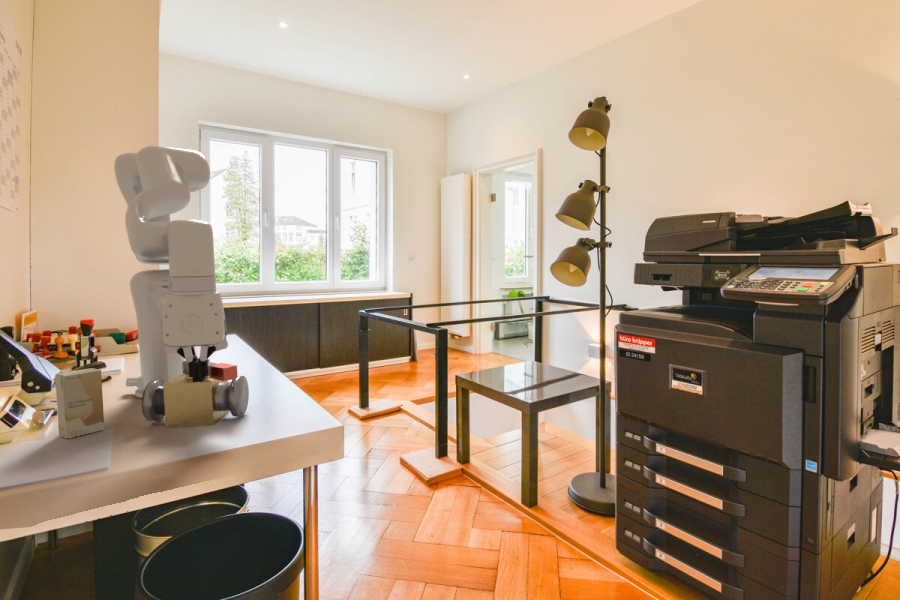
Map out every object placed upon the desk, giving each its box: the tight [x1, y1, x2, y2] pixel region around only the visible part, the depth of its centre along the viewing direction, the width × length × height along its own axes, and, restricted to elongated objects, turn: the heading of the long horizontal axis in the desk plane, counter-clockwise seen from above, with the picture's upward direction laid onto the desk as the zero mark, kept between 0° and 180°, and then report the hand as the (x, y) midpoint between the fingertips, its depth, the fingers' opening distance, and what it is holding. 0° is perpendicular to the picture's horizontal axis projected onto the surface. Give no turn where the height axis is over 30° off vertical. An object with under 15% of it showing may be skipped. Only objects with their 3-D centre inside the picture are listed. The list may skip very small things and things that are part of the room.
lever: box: [182, 358, 239, 381], centre depth 91 cm, size 15×5×2 cm, turn 57°
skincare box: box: [54, 367, 105, 439], centre depth 87 cm, size 6×4×12 cm
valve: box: [141, 374, 250, 429], centre depth 94 cm, size 18×9×10 cm, turn 98°
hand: (199, 380), depth 87 cm, fingers closed
